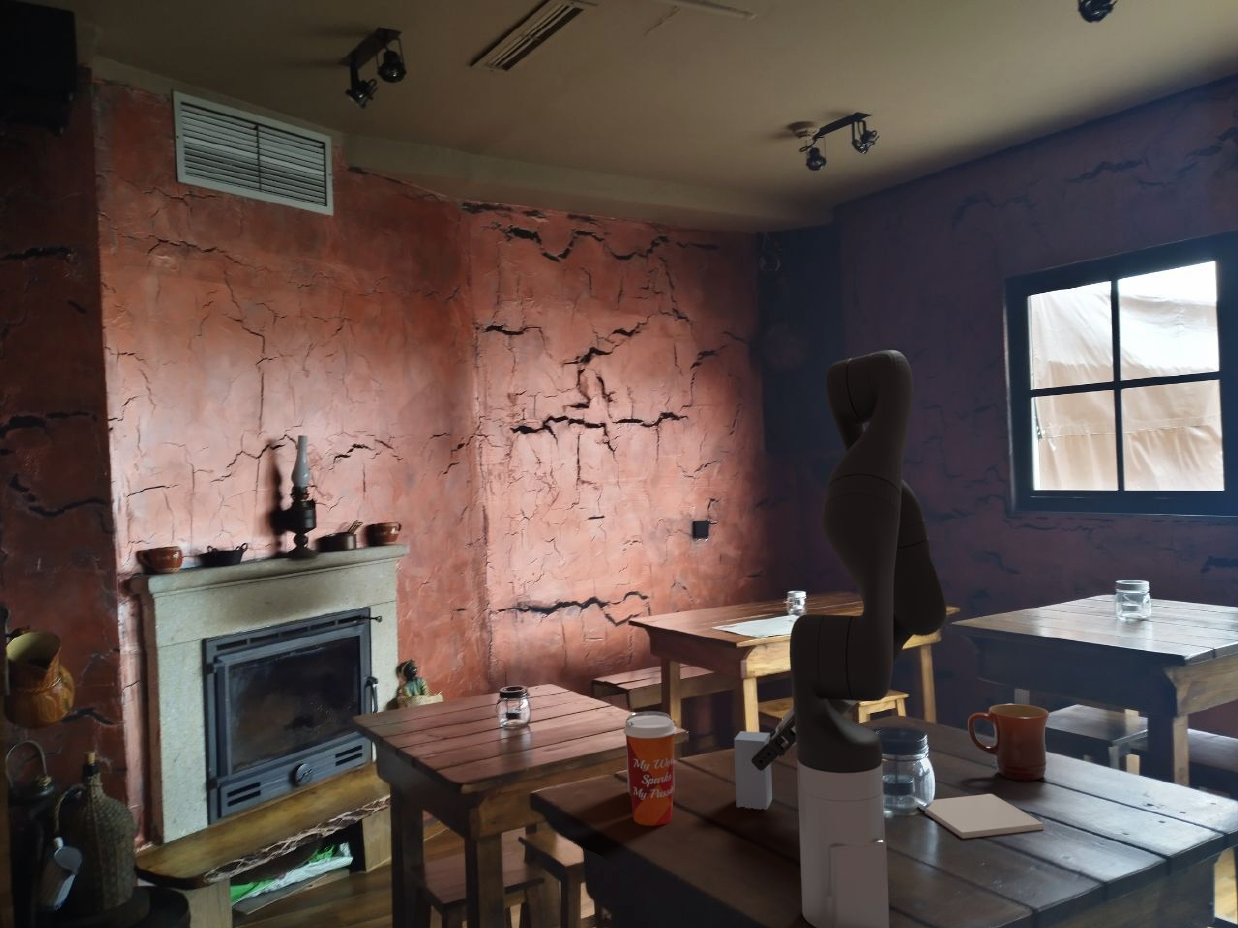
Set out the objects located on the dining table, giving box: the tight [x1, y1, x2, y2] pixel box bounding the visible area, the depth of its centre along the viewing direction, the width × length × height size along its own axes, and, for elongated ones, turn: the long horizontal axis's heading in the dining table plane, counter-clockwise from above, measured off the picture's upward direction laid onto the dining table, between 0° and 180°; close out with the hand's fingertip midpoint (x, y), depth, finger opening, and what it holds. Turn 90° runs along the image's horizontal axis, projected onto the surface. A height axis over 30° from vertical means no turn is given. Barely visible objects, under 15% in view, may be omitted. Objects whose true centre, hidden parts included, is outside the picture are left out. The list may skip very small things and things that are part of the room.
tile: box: [924, 793, 1045, 840], centre depth 129 cm, size 12×12×1 cm
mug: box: [967, 703, 1050, 782], centre depth 147 cm, size 12×9×10 cm
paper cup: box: [623, 716, 678, 827], centre depth 133 cm, size 8×8×14 cm
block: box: [733, 730, 773, 811], centre depth 138 cm, size 4×4×10 cm
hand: (761, 756), depth 137 cm, fingers open, 8 cm apart
